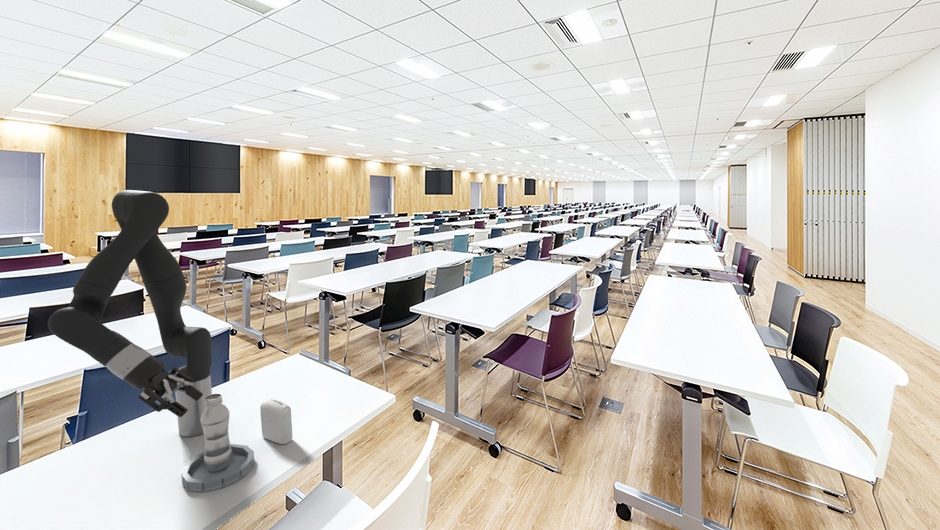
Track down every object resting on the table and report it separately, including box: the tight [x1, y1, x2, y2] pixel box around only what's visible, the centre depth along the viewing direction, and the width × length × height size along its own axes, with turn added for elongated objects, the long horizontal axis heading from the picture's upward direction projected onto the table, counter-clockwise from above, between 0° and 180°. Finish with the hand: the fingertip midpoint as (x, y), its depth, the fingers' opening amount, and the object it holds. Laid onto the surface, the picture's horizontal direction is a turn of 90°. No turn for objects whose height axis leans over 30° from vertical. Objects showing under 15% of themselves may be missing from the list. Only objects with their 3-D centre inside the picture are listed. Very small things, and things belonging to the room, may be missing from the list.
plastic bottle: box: [200, 393, 233, 472], centre depth 102 cm, size 6×7×20 cm
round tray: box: [180, 443, 255, 493], centre depth 103 cm, size 16×16×2 cm
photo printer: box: [259, 398, 293, 445], centre depth 118 cm, size 10×4×12 cm, turn 64°
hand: (192, 405), depth 100 cm, fingers open, 8 cm apart
